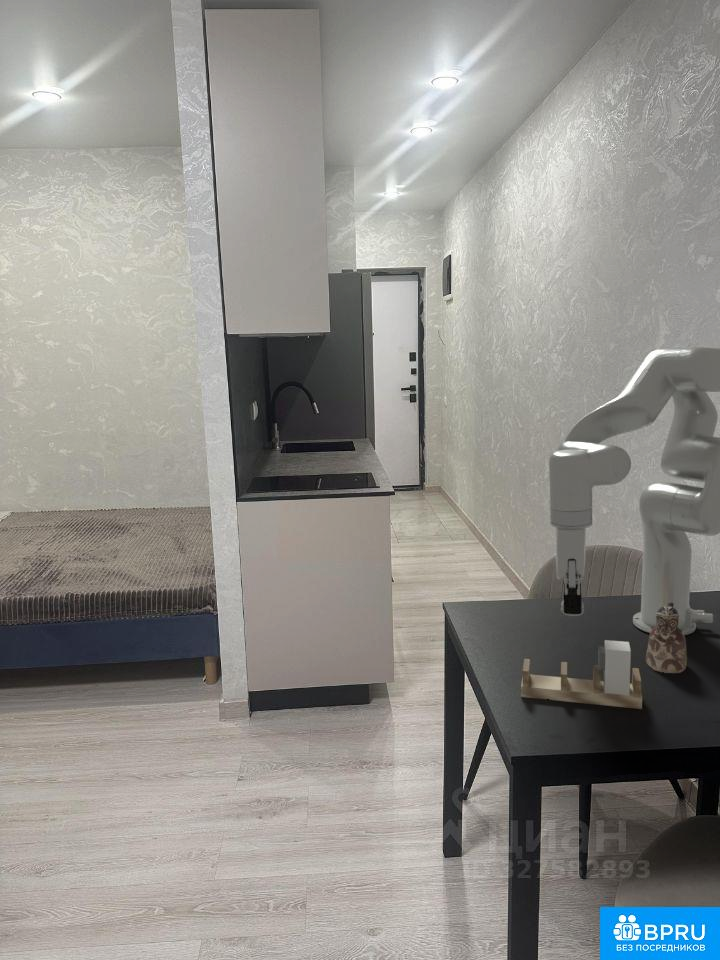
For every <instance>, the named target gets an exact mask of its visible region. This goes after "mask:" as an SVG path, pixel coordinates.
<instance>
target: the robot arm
mask: <svg viewBox="0 0 720 960" xmlns="http://www.w3.org/2000/svg"><path fill="white" fill-rule="evenodd" d="M710 392H711V393H717V392H718V393H719V392H720V348H718V347H717V348H716V347H704V346H703V347H702V346H697V347H695V346H694V347H693V346H692V347H691V346H690V347H665V348H658V349H655V350H653V351H651V352H650V353H648V354H646V356H645V357H644V358H643V360H642V361H641V363H640V365H639V366H638V367H637V368H636V370H634V372H633V374H632V375H631V376H630V378H629V379H628V381H627V382H626V383H625V385H624V387H622V389H621V390H620V392H619V394H618V395H617V396H616V397H615V398H614V399H612V400H610V401H608V402H606V403H604V404H602V405H601V406H599V407H598V408H595V409H594V410H592V411H591V412H589V413H587V414H586V415H584V416H583V417H581V418H580V419H579V420H578V421H577V422H576V423H575V424H574V425H573V426H572V427H571V428H570V429H569V430H568V432H567V434H566V435H565V436H564V438H563V440H562V441H561V443H560V444H559V446H558V448H557V450H556V451H555V452H553V453H551V455H550V457H549V463H548V465H549V467H548V468H549V507H550V508H549V509H550V513H549V514H550V525H551V526H552V527H554V528H555V559H556V560H555V561H556V562H555V564H556V566H555V569H556V579H557V580H559V581H560V580H561V579H564V580H563V581H564V582H563V599H564V613H565V614H581V613H582V603H581V600H582V583H581V581H582V580H583V579H584V577H585V567H586V566H585V565H586V546H587V545H586V544H587V543H586V542H587V540H586V536H587V535H586V534H587V533H586V532H587V529H586V528H590V527H592V526H593V488H594V487H599V486H601V487H602V486H612V485H616V484H618V483H621V482H623V481H624V480H625V479H626V478H627V476H628V475H629V473H630V472H631V471H630V470H631V468H632V461H631V457H630V455H629V453H628V452H627V451H626V450H625V449H624V448H622V447H620V446H617V445H614V444H605V443H603V442H604V441H606V440H607V439H610V438H612V437H616V436H619V435H622V434H626V433H627V434H628V433H631V432H635V431H637V430H640V429H644V428H645V427H649V426H650V425H651V424H653V423H654V422H655V421H656V420H657V418H658V417H659V416H660V414H661V412H662V411H663V409H664V408H665V406H666V404H667V403H668V402H669V400H670V399H671V398H672V400H673V401H672V402H673V405H674V406H673V407H674V410H673V418H672V422H671V425H670V426H669V427H670V428H669V431H668V433H667V434H668V435H667V437H666V441H665V443H664V446H663V451H662V454H661V458H660V468H661V470H662V472H663V473H664V474H665V475H666V476H669V477H672V478H674V479H678V480H679V479H680V480H685V481H691V482H700V483H704V485H703V487H701V486H700V487H699V486H692V485H687V484H682V483H675V482H674V483H673V482H666V481H664V482H663V481H662V482H661V481H660V482H654V483H652V484H649V485H648V486H646V487H645V488H644V489H643V491H642V493H641V495H640V497H639V501H638V503H639V505H638V507H639V515H640V519H641V526H642V539H643V540H642V545H643V546H642V567H641V569H642V573H641V594H640V595H641V597H640V598H641V599H640V600H641V601H640V611H639V612H637V613H634V615H633V616H632V623H633V625H634V626H635V627H636V628H638V629H639V630H641V631H643V632H645V633H649V634H650V632H651V630H652V629H653V628H654V627H655V626H656V613H657V611H658V610H659V609H660V608H661V607H662V606H667V604H668V602H672V603H673V608H675V609H676V610H677V612H678V614H679V619H678V628H679V629H680V630H681V631H682V632H683V634H684V636H688V635H690V634H693V633H694V632H695V631H696V628H697V624H696V623H698V622H700V623H701V622H702V623H709V624H710V623H713V622H714V615H713V613H707V612H705V610H703V609H697V610H696V609H693V608H691V606H690V592H691V590H690V589H691V571H692V569H691V568H692V567H691V566H692V565H691V564H692V545H691V543H690V539H689V537H688V535H687V533H689V534H695V535H700V536H705V537H713V536H714V537H715V536H718V535H719V534H720V437H719V436H714V434H715V430H716V427H717V423H718V420H719V419H718V418H719V417H718V416H719V415H718V411H717V407H716V406H715V404H714V402H713V401H712V399H711V398H710V395H708V393H710ZM577 572H578V578H576V575H577ZM567 575H569V577H567ZM564 576H565V578H564ZM567 581H569V584H568V582H567ZM576 582H577V584H576ZM565 614H564V615H565ZM581 615H582V614H581Z"/></svg>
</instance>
